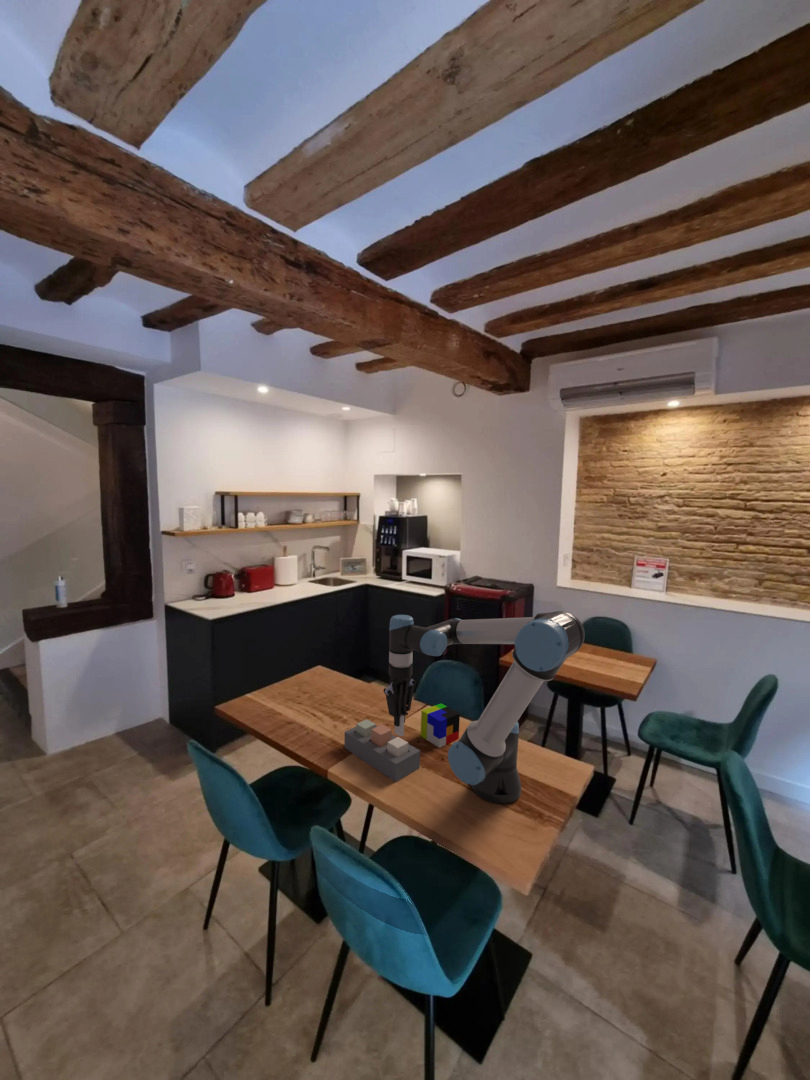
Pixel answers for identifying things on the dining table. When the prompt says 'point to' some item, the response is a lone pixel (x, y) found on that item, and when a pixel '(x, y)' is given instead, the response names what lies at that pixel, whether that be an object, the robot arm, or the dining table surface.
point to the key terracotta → (381, 735)
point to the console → (382, 756)
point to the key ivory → (397, 747)
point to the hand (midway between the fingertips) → (399, 734)
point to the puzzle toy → (440, 725)
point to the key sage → (365, 728)
